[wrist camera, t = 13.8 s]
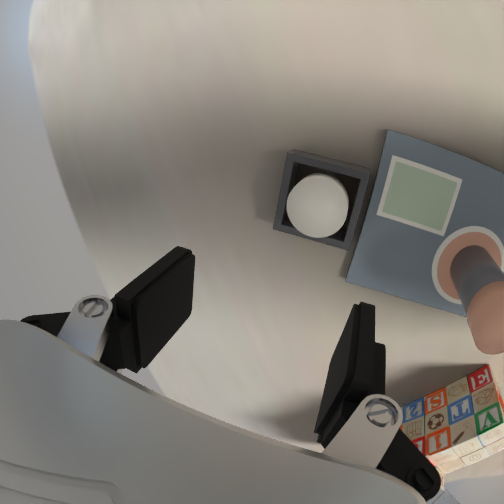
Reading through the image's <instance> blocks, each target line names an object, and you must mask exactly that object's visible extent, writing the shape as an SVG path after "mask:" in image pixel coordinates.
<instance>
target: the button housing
mask: <svg viewBox="0 0 504 504" xmlns="http://www.w3.org/2000/svg"><path fill="white" fill-rule="evenodd" d="M298 163H301V164H305V165H309V166H313V167H317V168H321V169H325V170H329V171H333V172H336V173H340V174H344V175H347V176H351V177H355V178H358V179H360V180H359V184H358V188H357V192H356V195H355V199H354V203H353V207H352V210H351V214H350V218H349V221H348V225H347V228H346V232H343V231H340V230H338V231H337V232H336V233H334V234H332V235H330V236H327V237H322V238H315V237H310V236H307V235H305V234H303V233H301V232H300V231H298V230H297V229H296V228H295V227H294V226H293V224H292V223H291V221H290V219H289V217H288V214H287V199H288V196H289V194H290V192H291V190H292V189H293V187H294V182H295V177H296V172H297V167H298ZM369 177H370V169H367V168H364V167H360V166H356V165H353V164H349V163H346V162H342V161H338V160H334V159H330V158H326V157H322V156H318V155H314V154H310V153H306V152H302V151H297V150H292V151H290V152H288V153H287V158H286V164H285V169H284V174H283V180H282V185H281V190H280V195H279V201H278V206H277V211H276V216H275V221H274V227H273V229H275V230H278V231H282V232H285V233H289V234H292V235H296V236H300V237H303V238H307V239H310V240H314V241H317V242H321V243H324V244H327V245H331V246H334V247H338V248H341V249H345V250H348V251H349V248H350V245H351V242H352V238H353V235H354V232H355V228H356V225H357V221H358V218H359V214H360V211H361V207H362V203H363V200H364V196H365V192H366V189H367V185H368V181H369Z"/></svg>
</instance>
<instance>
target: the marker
mask: <svg viewBox="0 0 504 504" xmlns="http://www.w3.org/2000/svg"><path fill="white" fill-rule="evenodd" d="M450 276H451V279H452V281H453V283H454V286H455V288H456V291H457V293H458V295H459V298H460V300H461V303H462V305H463V308H464V310H465V313H466V316H467V322H468V325H469V327H470V330H471V333H472V336H473V339H474V342H475V345H476V346H477V348H478V349H479V350H480V351H481V352H483V353H486V354H500V353H503V352H504V273H503V272H502V270H501V269H500V268H499V266H498V265H497V263H496V262H495V261H494V259H493V258H492V257H491V255H490V254H489V253H488V251H487V250H486V249H485V248H483V247H481V246H478V245H471V246H467V247H465V248H463V249H461V250H460V251H459V252H458V253H457V254H456V255H455V257H454V258H453V260H452V263H451V266H450Z"/></svg>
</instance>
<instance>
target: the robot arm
mask: <svg viewBox="0 0 504 504" xmlns="http://www.w3.org/2000/svg"><path fill="white" fill-rule="evenodd" d="M194 268H195V255H193V254H192V251H191V250H189V249H186V248H183V247H179V246H177V247H175V248H174V249H173V250H171V251H170V252H169V253H167V254H166V255H165V256H164V257H162V258H161V259H160V260H158V261H157V262H156V263H155V264H153V265H152V266H151V267H149V268H148V269H147V270H146V271H144V272H143V273H142V274H140V275H139V276H138V277H137V278H135V279H134V280H133V281H132V282H130V283H129V284H128V285H127V286H125V287H124V288H123V289H122V290H120V291H119V292H118V293H117V294H115V297H113V298H112V299H111V300H109V299H108V298H106V297H104V296H100V295H91V296H87V297H84V298H82V299H80V300H79V301H78V302H77V303H76V304H75V306H74V307H73V309H72V311H71V312H64V313H54V314H44V315H33V316H28V317H26V318H23V319H22V320H21V321H16V320H0V504H460V503H459V502H458V501H457V500H456V499H455V498H454V497H453V495H452V494H451V493H450V492H449V491H448V490H446V491H445V492H444V491H443V490H442V489H441V488H440V487H441V478H440V474H439V472H438V471H437V469H436V468H435V467H434V466H433V465H432V464H431V462H430V461H429V460H428V459H427V458H426V457H425V456H424V455H423V454H422V452H421V451H420V450H419V449H418V448H417V447H416V446H415V445H414V444H413V442H412V441H411V440H410V439H409V438H408V437H407V436H406V435H405V434H404V432H403V431H402V430H401V429H400V428H399V427H400V425H401V423H402V420H403V412H402V410H401V408H400V406H399V405H398V404H397V402H396V401H394V400H393V399H391V398H390V397H387V396H385V369H386V349H385V345H384V344H380V343H376V342H375V306H374V305H371V304H368V303H364V302H360V304H359V305H357V304H354V305H353V308H352V310H351V313H350V315H349V318H348V320H347V323H346V325H345V328H344V330H343V332H342V335H341V337H340V340H339V342H338V344H337V347H336V349H335V351H334V353H333V356H332V358H331V362H330V365H329V370H328V375H327V379H326V384H325V388H324V393H323V397H322V401H321V406H320V410H319V414H318V418H317V422H316V426H315V430H314V433H318V434H319V436H318V440H317V442H318V443H321V445H322V446H323V447H324V451H323V452H322V453H318V452H315V451H311V450H308V449H304V448H301V447H298V446H294V445H291V444H288V443H284V442H281V441H278V440H275V439H272V438H268V437H265V436H262V435H259V434H257V433H254V432H251V431H248V430H245V429H242V428H240V427H237V426H234V425H232V424H229V423H226V422H224V421H221V420H219V419H216V418H214V417H211V416H209V415H206V414H204V413H201V412H199V411H197V410H194V409H192V408H190V407H187V406H185V405H183V404H181V403H178V402H176V401H174V400H172V399H170V398H167V397H165V396H163V395H161V394H159V393H157V392H155V391H153V390H151V389H148V388H147V387H145V386H143V385H141V384H139V383H137V382H135V381H133V380H131V379H129V378H127V377H125V376H123V375H121V373H122V369H125V368H127V369H129V370H131V371H133V372H135V373H137V372H138V371H139V370H140V369H141V368H142V367H143V368H146V367H147V366H148V365H149V363H150V362H151V361H152V360H153V359H154V358H155V356H156V355H157V354H158V353H159V352H160V350H161V349H162V348H163V347H164V346H165V345H166V343H167V342H168V341H169V340H170V339H171V337H172V336H173V335H174V334H175V333H176V332H177V330H178V329H179V328H180V327H181V326H182V324H183V323H184V322H185V321H186V320H187V319H188V317H189V316H190V314H191V311H192V299H193V283H194Z"/></svg>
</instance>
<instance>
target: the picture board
mask: <svg viewBox="0 0 504 504" xmlns="http://www.w3.org/2000/svg"><path fill="white" fill-rule="evenodd" d="M471 245H478V246H481V247H483V248H485V249H486V250H487V251H488V253H489V254H490V255H491V257H492V258H493V259H494V261H495V262H496V263H497V265H498V266H499V268H500V269H501V270H502V272H503V273H504V173H502V172H499V171H497V170H495V169H493V168H491V167H488V166H486V165H484V164H482V163H479V162H477V161H475V160H472V159H470V158H467V157H465V156H462V155H460V154H457V153H455V152H452V151H450V150H447V149H444V148H442V147H439V146H436V145H433V144H431V143H428V142H425V141H422V140H419V139H416V138H413V137H410V136H407V135H404V134H401V133H398V132H395V131H391V130H388V129H387V133H386V138H385V142H384V147H383V151H382V155H381V159H380V163H379V167H378V171H377V175H376V179H375V183H374V187H373V190H372V194H371V198H370V201H369V205H368V208H367V212H366V215H365V219H364V222H363V226H362V229H361V232H360V236H359V239H358V242H357V245H356V248H355V252H354V255H353V258H352V261H351V264H350V267H349V270H348V273H347V276H346V282H349V283H353V284H356V285H359V286H363V287H366V288H370V289H373V290H376V291H380V292H383V293H387V294H390V295H393V296H397V297H400V298H404V299H407V300H410V301H414V302H417V303H421V304H424V305H427V306H431V307H434V308H438V309H441V310H444V311H448V312H451V313H455V314H458V315H461V316H465V317H467V316H466V313H465V310H464V308H463V305H462V303H461V300H460V298H459V295H458V293H457V291H456V288H455V286H454V283H453V281H452V279H451V276H450V266H451V263H452V260H453V258H454V257H455V255H456V254H457V253H458V252H459V251H460V250H461V249H463V248H465V247H467V246H471Z"/></svg>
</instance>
